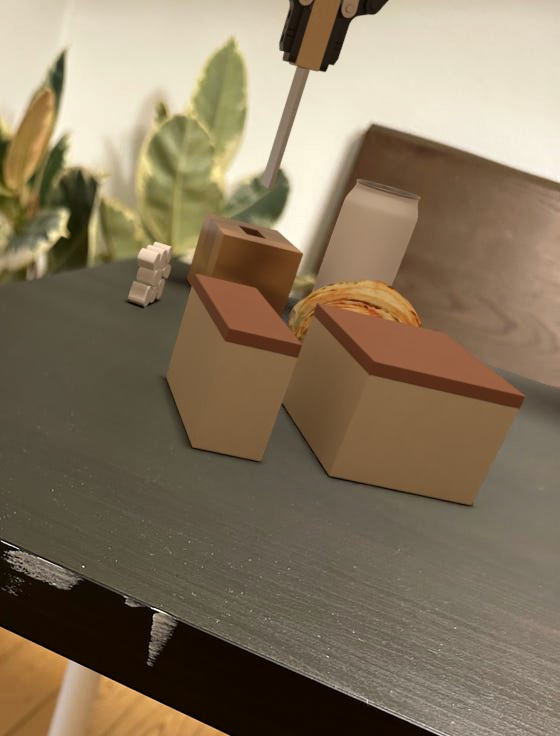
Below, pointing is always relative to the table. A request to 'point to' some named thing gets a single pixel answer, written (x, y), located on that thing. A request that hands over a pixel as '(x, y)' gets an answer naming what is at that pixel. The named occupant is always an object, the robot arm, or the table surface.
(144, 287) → the marshmallow
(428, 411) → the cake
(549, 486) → the table surface
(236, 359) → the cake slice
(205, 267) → the knife block
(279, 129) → the knife
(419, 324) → the croissant
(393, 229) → the can
